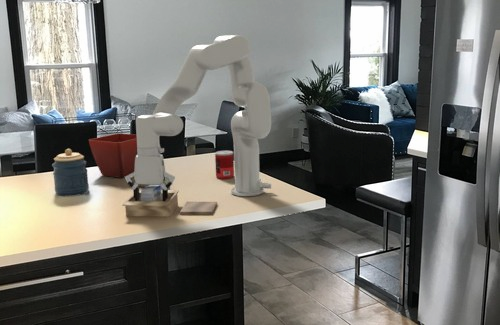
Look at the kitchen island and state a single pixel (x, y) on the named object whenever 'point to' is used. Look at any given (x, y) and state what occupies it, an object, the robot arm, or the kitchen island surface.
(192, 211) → the walnut board
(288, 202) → the kitchen island surface
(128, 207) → the wooden tray
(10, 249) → the kitchen island surface
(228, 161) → the canned food
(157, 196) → the medicine box
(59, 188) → the canister
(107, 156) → the plant pot
